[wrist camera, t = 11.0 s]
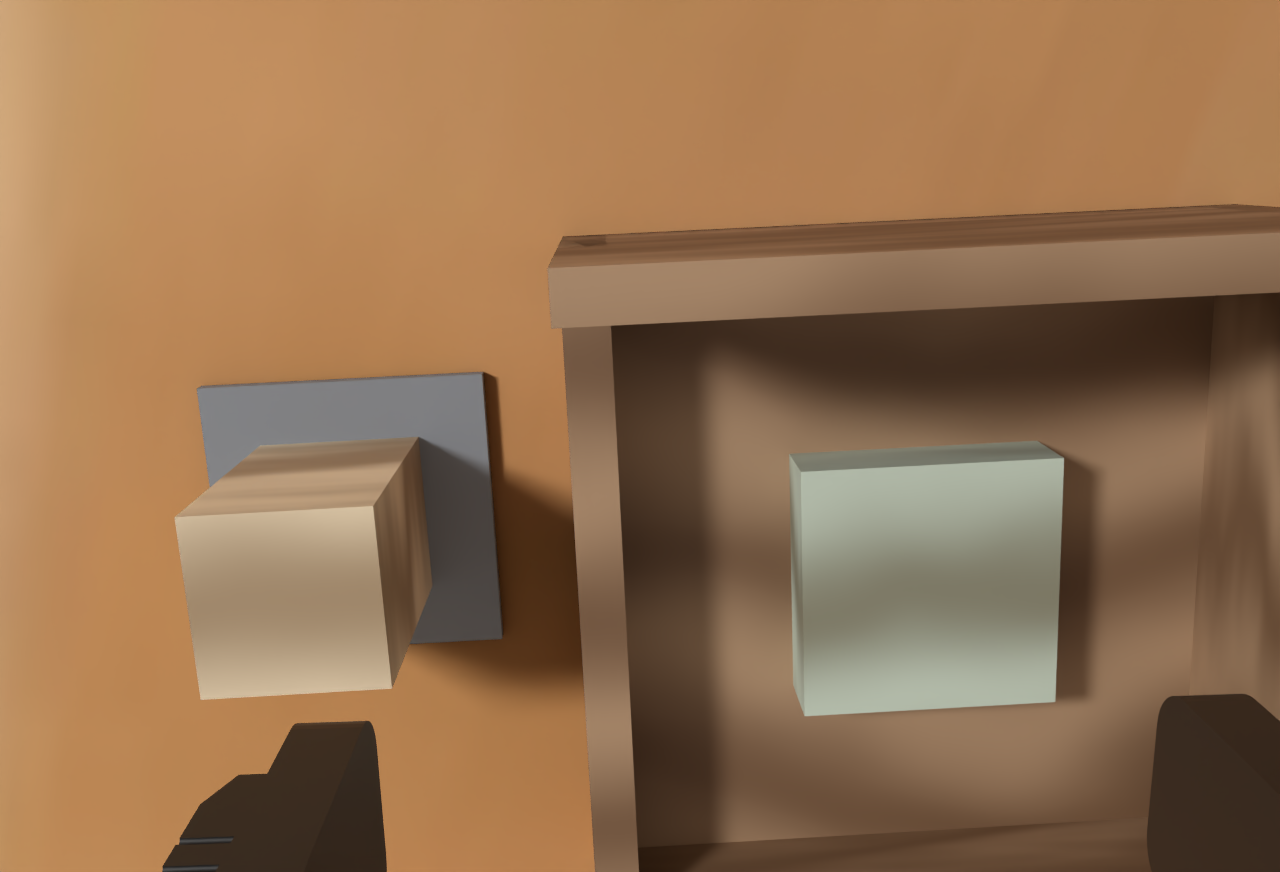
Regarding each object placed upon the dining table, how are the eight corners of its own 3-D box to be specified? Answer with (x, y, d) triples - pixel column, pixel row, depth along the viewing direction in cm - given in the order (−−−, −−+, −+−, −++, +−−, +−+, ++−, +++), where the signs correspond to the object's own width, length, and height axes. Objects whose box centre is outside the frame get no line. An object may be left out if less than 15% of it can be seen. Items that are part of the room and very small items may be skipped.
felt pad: (201, 386, 34) (196, 388, 34) (483, 371, 34) (481, 374, 34) (235, 648, 36) (231, 653, 35) (503, 633, 36) (502, 638, 35)
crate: (562, 236, 33) (547, 268, 24) (1235, 204, 34) (1493, 222, 24) (599, 857, 38) (599, 1100, 28) (1194, 822, 38) (1397, 1049, 28)
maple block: (260, 445, 34) (174, 517, 27) (418, 437, 34) (373, 506, 27) (278, 594, 35) (200, 699, 28) (432, 585, 35) (392, 688, 28)
